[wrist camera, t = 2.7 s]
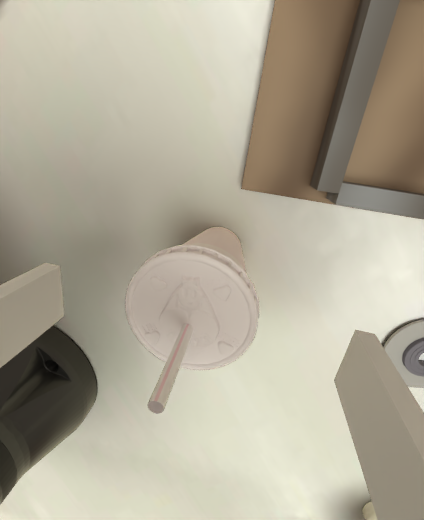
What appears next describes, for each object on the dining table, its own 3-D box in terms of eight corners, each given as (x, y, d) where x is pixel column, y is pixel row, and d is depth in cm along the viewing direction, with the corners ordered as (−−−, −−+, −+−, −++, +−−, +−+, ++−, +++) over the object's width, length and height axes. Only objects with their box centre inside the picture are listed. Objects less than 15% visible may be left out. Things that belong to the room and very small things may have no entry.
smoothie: (178, 281, 23) (74, 442, 10) (179, 205, 21) (44, 289, 8) (254, 290, 22) (247, 480, 9) (264, 212, 20) (274, 321, 7)
